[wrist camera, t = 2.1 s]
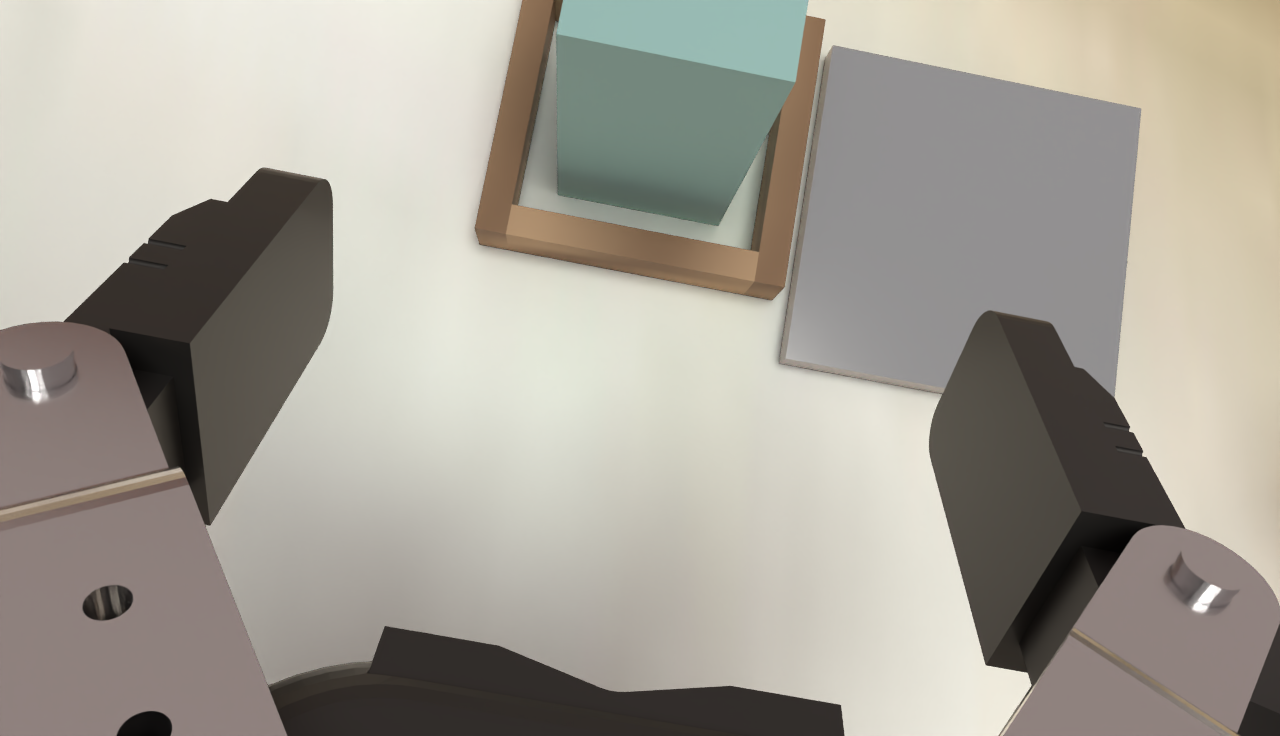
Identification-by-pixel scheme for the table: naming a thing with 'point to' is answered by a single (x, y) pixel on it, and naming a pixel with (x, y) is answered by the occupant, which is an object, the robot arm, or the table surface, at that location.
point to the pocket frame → (626, 245)
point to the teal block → (670, 98)
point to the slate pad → (956, 220)
